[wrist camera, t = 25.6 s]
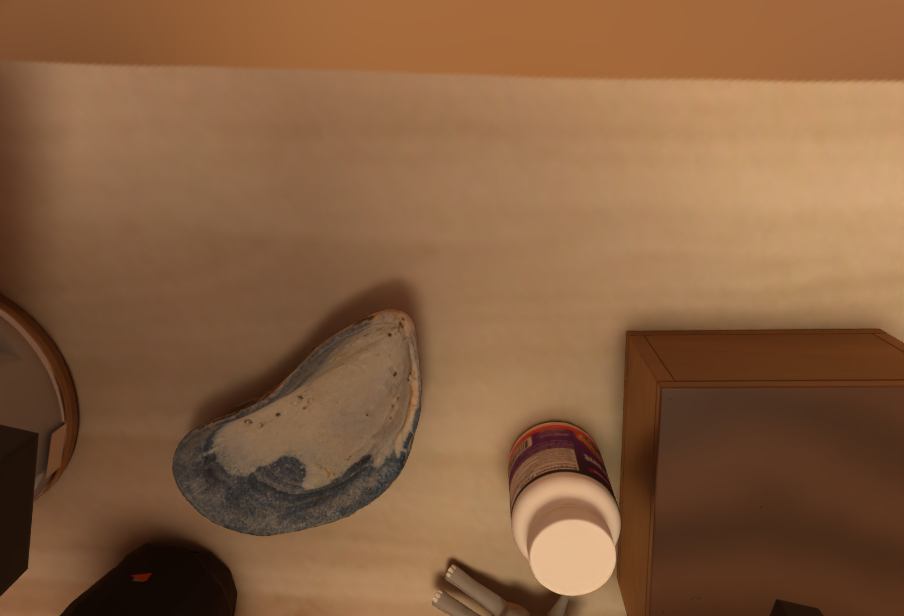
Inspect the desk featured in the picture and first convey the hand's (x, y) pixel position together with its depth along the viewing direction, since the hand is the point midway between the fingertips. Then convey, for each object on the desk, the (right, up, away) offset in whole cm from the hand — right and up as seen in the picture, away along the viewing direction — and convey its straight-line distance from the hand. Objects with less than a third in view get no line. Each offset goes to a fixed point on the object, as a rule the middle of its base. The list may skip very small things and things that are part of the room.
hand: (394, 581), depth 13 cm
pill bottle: (+7, -4, +31) cm, 32 cm away
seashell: (-7, 0, +30) cm, 31 cm away
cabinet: (+18, -4, +30) cm, 35 cm away
